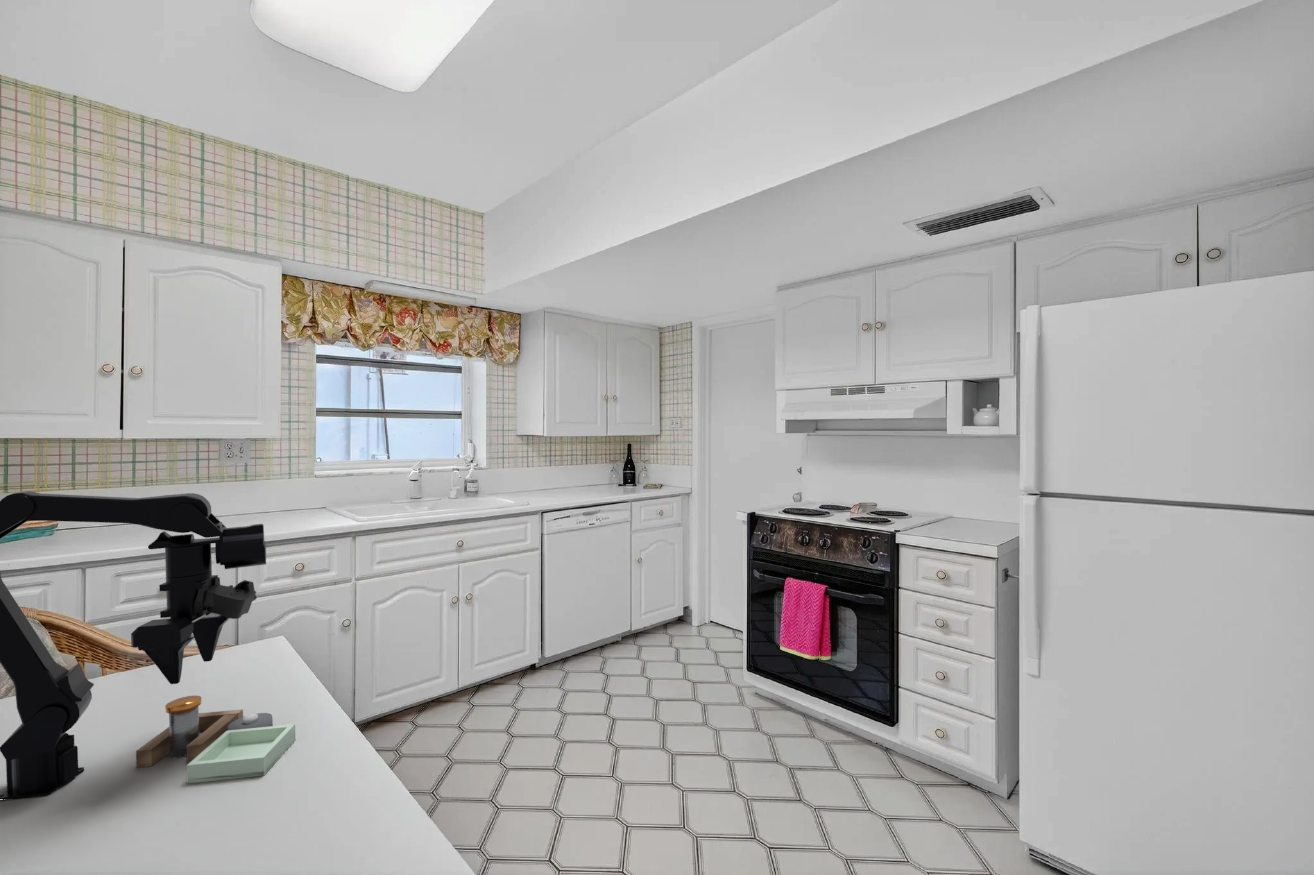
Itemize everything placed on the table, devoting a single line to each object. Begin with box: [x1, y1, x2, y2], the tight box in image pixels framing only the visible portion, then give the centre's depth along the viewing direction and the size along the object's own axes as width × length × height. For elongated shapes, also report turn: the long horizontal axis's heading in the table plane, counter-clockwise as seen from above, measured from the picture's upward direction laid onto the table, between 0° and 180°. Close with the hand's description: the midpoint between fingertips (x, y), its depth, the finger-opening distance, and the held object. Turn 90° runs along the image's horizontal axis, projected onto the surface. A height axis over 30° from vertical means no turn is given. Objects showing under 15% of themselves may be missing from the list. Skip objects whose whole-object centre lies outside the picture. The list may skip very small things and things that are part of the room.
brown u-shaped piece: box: [135, 708, 244, 768], centre depth 95 cm, size 9×12×2 cm
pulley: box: [228, 712, 274, 730], centre depth 97 cm, size 6×6×3 cm
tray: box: [186, 723, 297, 784], centre depth 89 cm, size 10×10×3 cm
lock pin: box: [164, 695, 202, 759], centre depth 93 cm, size 4×4×8 cm
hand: (192, 671), depth 94 cm, fingers open, 9 cm apart
